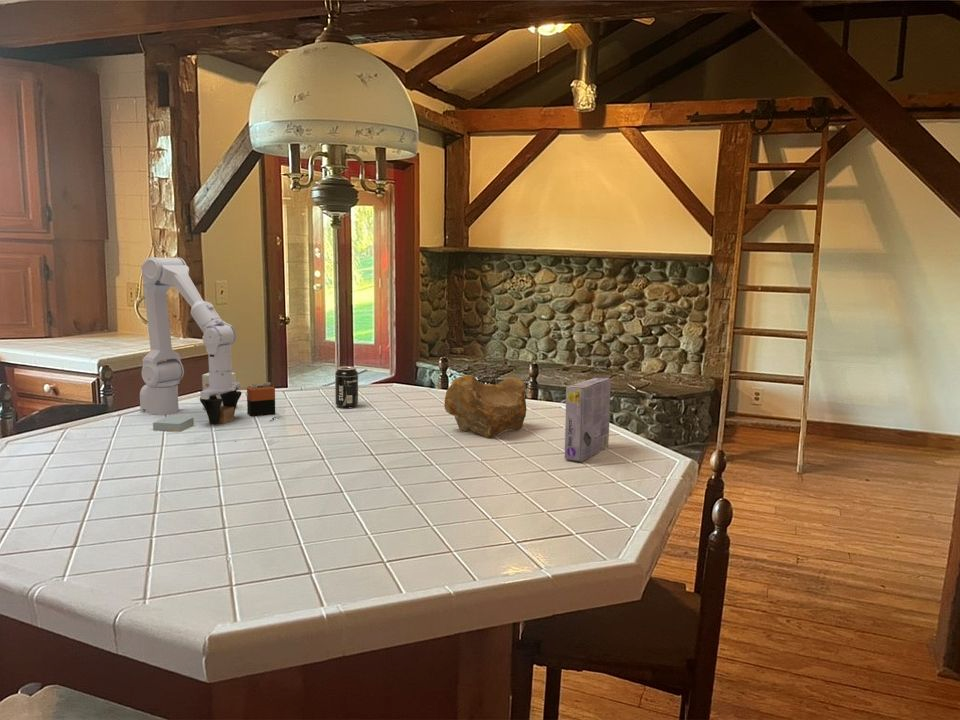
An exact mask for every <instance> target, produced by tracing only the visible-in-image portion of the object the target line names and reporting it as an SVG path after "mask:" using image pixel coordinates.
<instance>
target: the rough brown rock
mask: <svg viewBox="0 0 960 720" xmlns="http://www.w3.org/2000/svg"><path fill="white" fill-rule="evenodd" d="M444 409H445V410H444V411H445V412H446V413H448V414H449V415H451V416H454V419H455V421H456V423H457V426H458V428H459V430H461V431H462V432H469V431H472V433H478V434H480V435H481V436H483V437H484V438H486V439H489V438H492V437H496V436H499V435H500V434H503V433H504V432H507V431H510V430H512V431H519V430H521V428H523V425H524V421H525V419H526V416H527V402H526V384H525V382H524V380H523V379H521V378H520V377H517V376H508V377H506V378H505V379H504V380H502V381H500V382H499V383H496V384H492V383H483V382H480V381H479V380H478V379H477V378H476V376H475V375H473V374H465V375H463V376H461V377H458V378H456V379H455V380H453V381H452V383H451V384H450V385H449V386H448V388H447V389H446V391H445V396H444Z"/></svg>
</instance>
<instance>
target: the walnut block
mask: <svg viewBox="0 0 960 720" xmlns="http://www.w3.org/2000/svg"><path fill="white" fill-rule="evenodd" d="M233 421H235V413H234V407H228V406H220V412H219V423H218V424H219V425H220V424H222V425H225V424H227V423H230V422H233ZM208 422H209V423H210V421H209V420H208Z"/></svg>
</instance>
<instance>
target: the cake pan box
mask: <svg viewBox="0 0 960 720" xmlns="http://www.w3.org/2000/svg"><path fill="white" fill-rule="evenodd" d="M611 384H612V380H611V378H610V377H603V378H602V377H593V378H591V379H587V380H584V381H579V382H577V383H574V384H571V385H567V386H566V388H565V389H566V390H565V423H564V424H565V428H564V429H565V431H564V459H565V460H568V461H572V462H577V463H583V462H584V461H585V460H588V459H589V458H591V457H593V456H595V455H598V453H600V452H601V451H603V450H605V449H606V448H608V447H609V441H610V439H609V438H610V409H611V408H610V407H611Z"/></svg>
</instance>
